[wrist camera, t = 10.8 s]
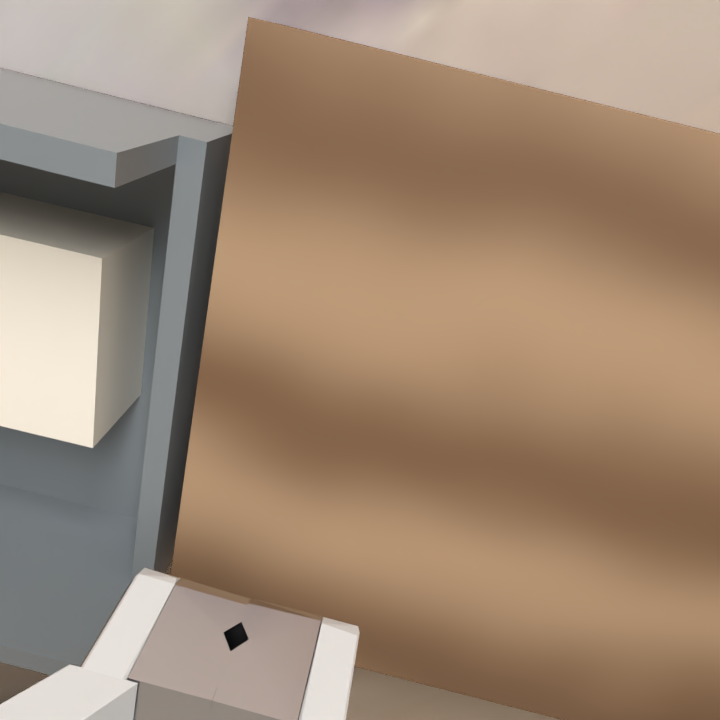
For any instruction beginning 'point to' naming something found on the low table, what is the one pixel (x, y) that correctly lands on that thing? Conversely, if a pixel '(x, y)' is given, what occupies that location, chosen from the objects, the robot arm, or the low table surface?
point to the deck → (466, 381)
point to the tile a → (70, 318)
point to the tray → (160, 367)
